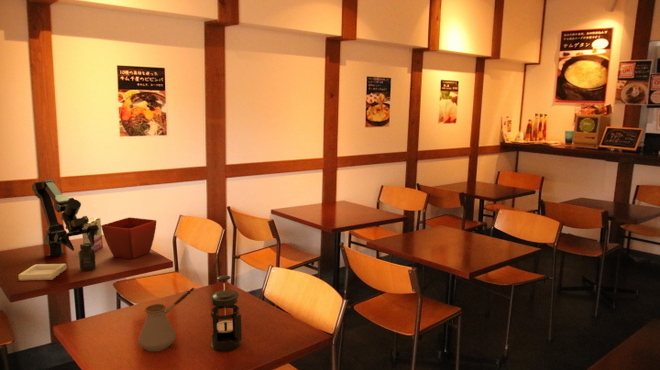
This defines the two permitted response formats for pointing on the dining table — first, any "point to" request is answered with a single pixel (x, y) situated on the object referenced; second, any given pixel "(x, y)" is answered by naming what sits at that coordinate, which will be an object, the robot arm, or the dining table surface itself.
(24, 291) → the dining table surface
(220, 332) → the french press
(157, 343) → the coffee pot
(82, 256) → the supplement bottle
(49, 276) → the tray
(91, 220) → the candy bar box
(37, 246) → the dining table surface
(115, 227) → the plant pot
